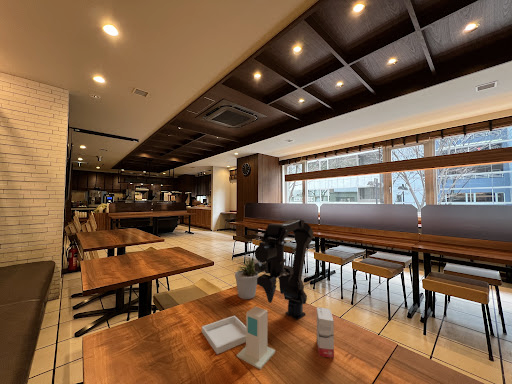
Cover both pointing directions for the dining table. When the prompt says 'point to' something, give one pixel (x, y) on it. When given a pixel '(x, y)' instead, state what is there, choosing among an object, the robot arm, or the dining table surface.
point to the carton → (256, 332)
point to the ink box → (325, 332)
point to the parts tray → (225, 334)
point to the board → (255, 362)
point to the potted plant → (246, 280)
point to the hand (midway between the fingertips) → (276, 297)
